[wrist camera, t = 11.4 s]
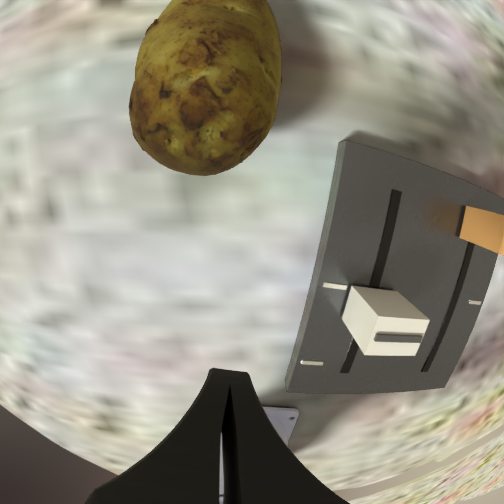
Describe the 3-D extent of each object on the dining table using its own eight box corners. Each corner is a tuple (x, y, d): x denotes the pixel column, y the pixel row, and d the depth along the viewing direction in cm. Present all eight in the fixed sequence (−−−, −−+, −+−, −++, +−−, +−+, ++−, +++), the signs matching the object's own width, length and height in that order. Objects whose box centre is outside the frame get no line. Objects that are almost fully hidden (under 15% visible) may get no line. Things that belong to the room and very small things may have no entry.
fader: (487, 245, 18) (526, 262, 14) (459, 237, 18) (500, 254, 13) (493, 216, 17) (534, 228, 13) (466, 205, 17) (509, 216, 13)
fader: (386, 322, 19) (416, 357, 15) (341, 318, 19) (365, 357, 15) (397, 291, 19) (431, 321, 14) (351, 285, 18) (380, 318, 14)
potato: (318, 27, 16) (355, -36, 8) (241, 190, 18) (239, 203, 11) (208, -11, 14) (193, -81, 7) (125, 144, 17) (57, 132, 10)
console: (437, 379, 23) (444, 388, 22) (284, 379, 22) (287, 392, 21) (497, 199, 19) (509, 201, 17) (338, 142, 18) (346, 140, 16)
